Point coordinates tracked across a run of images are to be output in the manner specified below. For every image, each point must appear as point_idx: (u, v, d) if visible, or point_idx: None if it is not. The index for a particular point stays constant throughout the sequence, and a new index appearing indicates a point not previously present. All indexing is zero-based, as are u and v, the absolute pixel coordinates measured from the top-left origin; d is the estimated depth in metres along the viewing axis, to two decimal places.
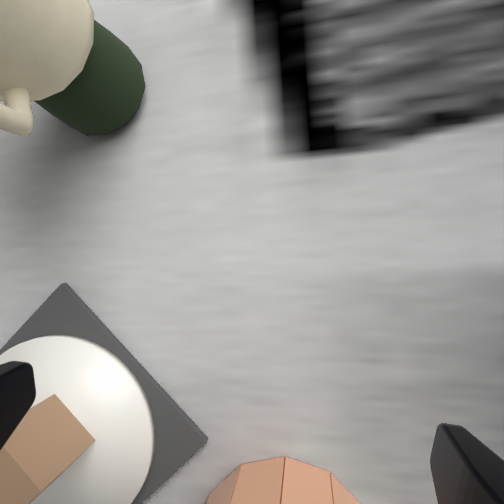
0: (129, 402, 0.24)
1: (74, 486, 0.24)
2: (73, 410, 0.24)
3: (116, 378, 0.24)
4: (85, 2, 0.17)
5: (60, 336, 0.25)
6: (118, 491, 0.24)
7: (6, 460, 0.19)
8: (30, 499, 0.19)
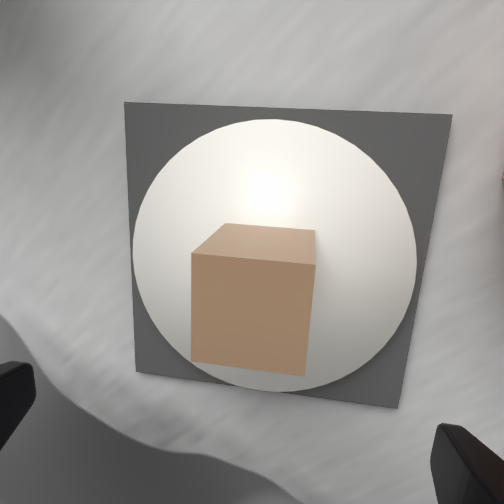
0: (318, 148, 0.15)
1: (333, 302, 0.17)
2: (261, 220, 0.17)
3: (279, 136, 0.16)
4: None
5: None
6: (390, 262, 0.16)
7: (239, 270, 0.12)
8: (311, 288, 0.12)
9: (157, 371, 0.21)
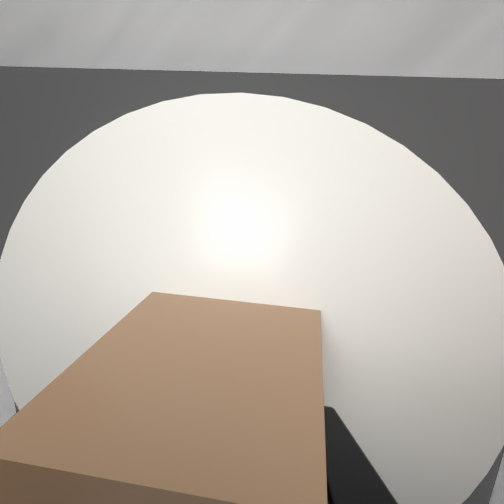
0: (328, 151, 0.08)
1: (355, 438, 0.09)
2: (218, 289, 0.09)
3: (248, 127, 0.08)
4: None
5: None
6: (467, 375, 0.08)
7: None
8: None
9: None
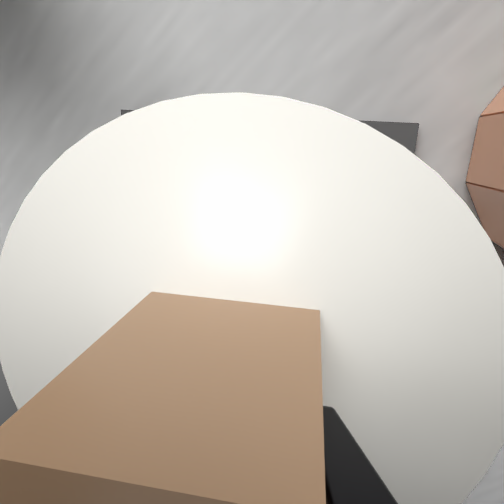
0: (327, 151, 0.08)
1: (354, 438, 0.09)
2: (217, 290, 0.09)
3: (248, 127, 0.08)
4: None
5: None
6: (466, 375, 0.08)
7: None
8: None
9: None
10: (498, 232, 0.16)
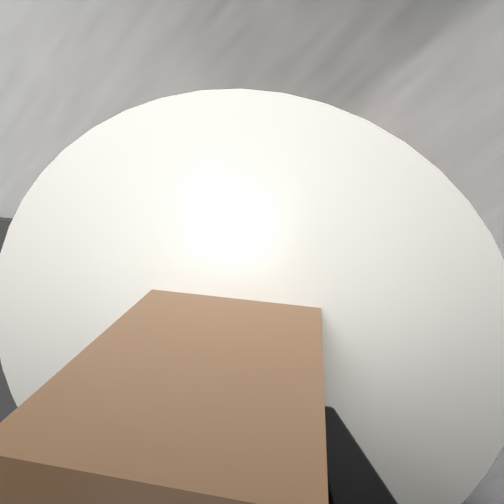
0: (328, 148, 0.07)
1: (355, 436, 0.09)
2: (217, 287, 0.09)
3: (248, 124, 0.08)
4: None
5: None
6: (468, 373, 0.08)
7: None
8: None
9: None
10: None
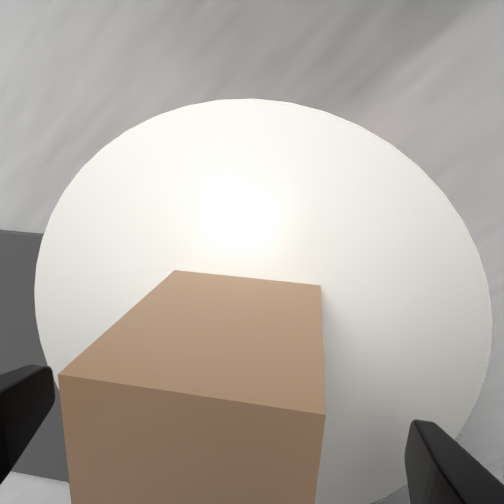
0: (327, 149, 0.09)
1: (350, 398, 0.11)
2: (231, 268, 0.10)
3: (259, 128, 0.09)
4: None
5: None
6: (445, 340, 0.10)
7: (160, 413, 0.06)
8: (314, 459, 0.05)
9: None
10: None
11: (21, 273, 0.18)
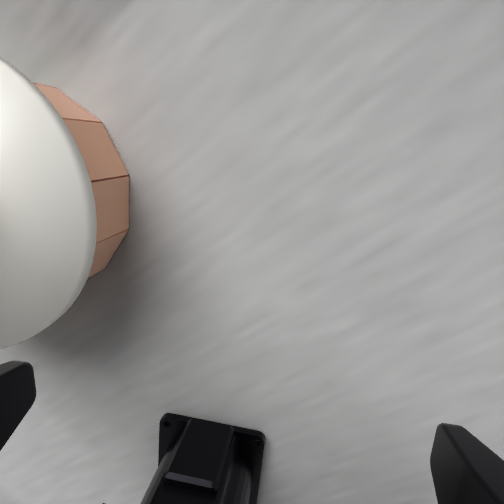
0: None
1: (10, 248, 0.15)
2: None
3: None
4: None
5: None
6: (56, 203, 0.14)
7: None
8: None
9: None
10: None
11: None
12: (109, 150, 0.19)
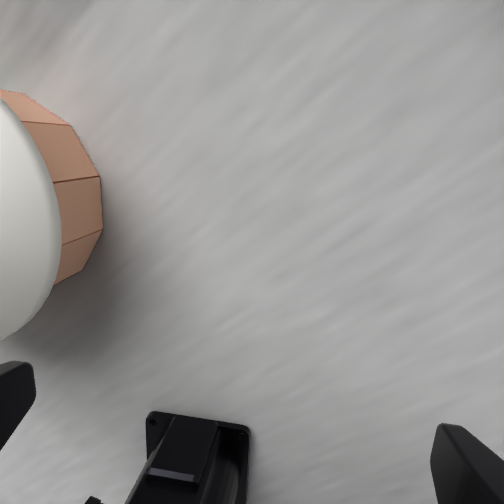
0: None
1: None
2: None
3: None
4: None
5: None
6: (18, 203, 0.15)
7: None
8: None
9: None
10: None
11: None
12: (78, 152, 0.19)
